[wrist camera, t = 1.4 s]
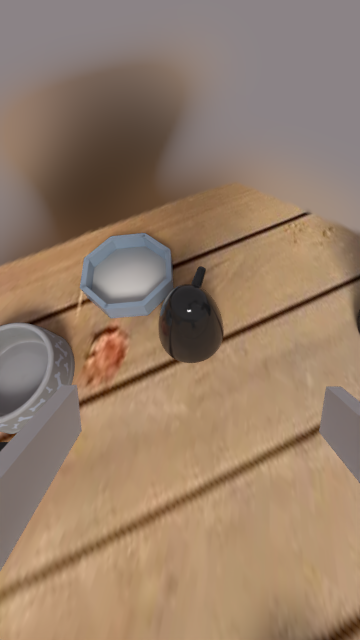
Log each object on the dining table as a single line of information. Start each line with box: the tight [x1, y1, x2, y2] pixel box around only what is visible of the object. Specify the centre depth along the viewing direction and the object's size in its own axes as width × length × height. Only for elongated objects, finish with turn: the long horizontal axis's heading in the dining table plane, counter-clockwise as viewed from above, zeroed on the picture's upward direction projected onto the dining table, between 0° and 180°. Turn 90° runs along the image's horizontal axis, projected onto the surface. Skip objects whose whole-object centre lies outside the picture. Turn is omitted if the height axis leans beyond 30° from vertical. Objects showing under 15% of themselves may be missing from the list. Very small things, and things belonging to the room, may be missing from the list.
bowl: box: [80, 233, 174, 318], centre depth 49 cm, size 17×17×4 cm
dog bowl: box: [0, 323, 75, 434], centre depth 42 cm, size 17×18×5 cm
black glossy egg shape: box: [159, 267, 224, 363], centre depth 37 cm, size 10×10×15 cm
